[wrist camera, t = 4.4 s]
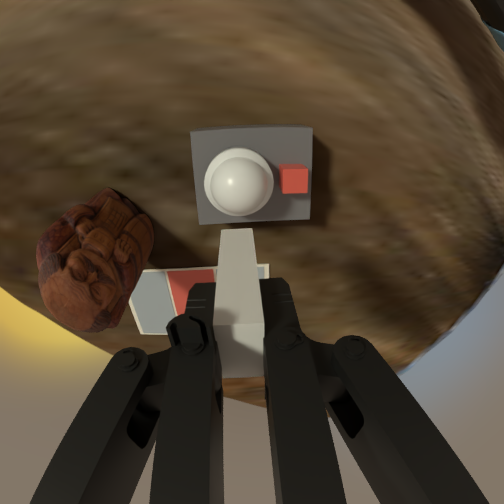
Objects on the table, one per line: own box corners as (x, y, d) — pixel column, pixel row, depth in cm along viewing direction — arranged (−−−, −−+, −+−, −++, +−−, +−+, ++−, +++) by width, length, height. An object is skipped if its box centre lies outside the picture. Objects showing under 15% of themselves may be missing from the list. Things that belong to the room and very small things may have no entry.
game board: (268, 263, 39) (269, 264, 38) (268, 330, 45) (268, 331, 45) (118, 270, 38) (118, 271, 38) (141, 333, 44) (140, 334, 44)
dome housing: (301, 124, 30) (319, 129, 23) (300, 203, 35) (315, 228, 28) (197, 128, 29) (186, 134, 23) (204, 208, 34) (196, 234, 28)
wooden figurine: (171, 236, 36) (131, 336, 20) (143, 264, 38) (99, 363, 22) (107, 176, 31) (20, 241, 15) (83, 209, 33) (5, 285, 17)
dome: (270, 145, 26) (278, 154, 21) (270, 205, 29) (278, 227, 24) (204, 148, 26) (196, 158, 21) (209, 209, 29) (204, 231, 24)
